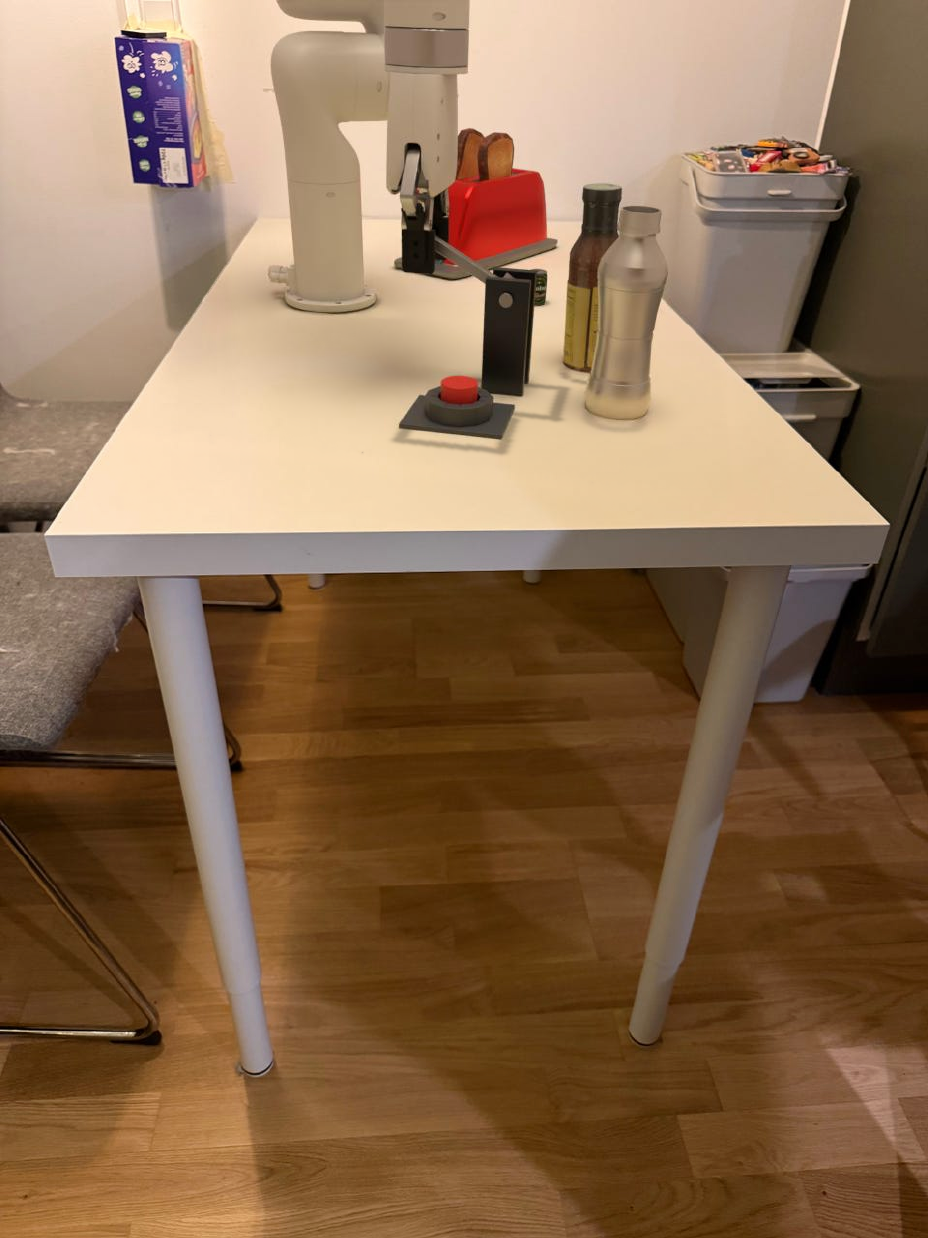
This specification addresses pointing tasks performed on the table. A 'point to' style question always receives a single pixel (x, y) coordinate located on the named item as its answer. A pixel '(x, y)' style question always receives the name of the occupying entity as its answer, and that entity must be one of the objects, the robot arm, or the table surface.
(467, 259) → the lever
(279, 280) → the robot arm
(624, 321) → the plastic bottle
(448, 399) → the button
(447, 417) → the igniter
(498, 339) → the bracket
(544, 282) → the beer can
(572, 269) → the sauce bottle
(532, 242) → the toaster
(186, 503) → the table surface
